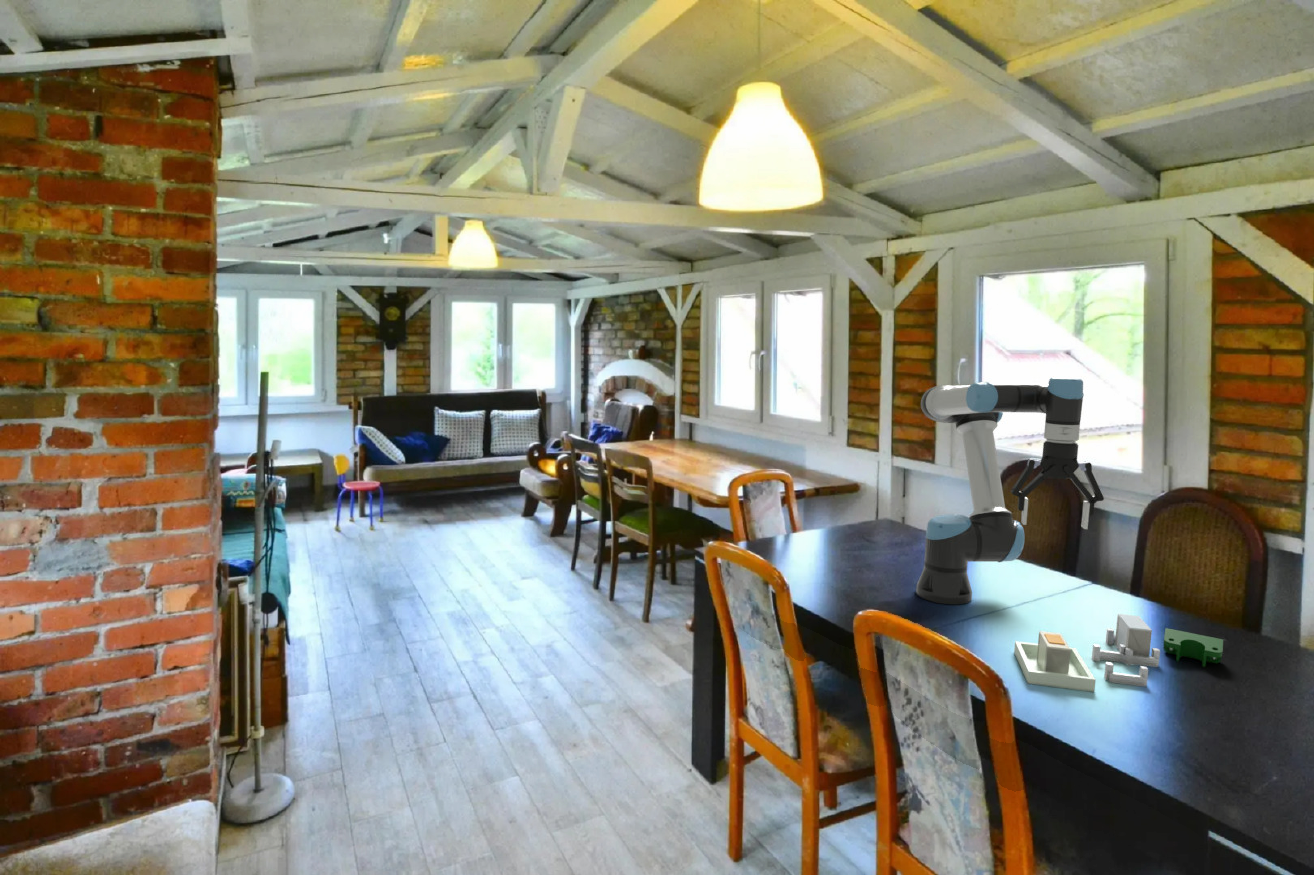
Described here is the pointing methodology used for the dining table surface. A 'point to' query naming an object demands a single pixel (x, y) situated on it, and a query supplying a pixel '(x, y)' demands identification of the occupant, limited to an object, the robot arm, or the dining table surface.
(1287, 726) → the dining table surface
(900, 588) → the dining table surface
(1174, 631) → the clamp
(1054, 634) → the block
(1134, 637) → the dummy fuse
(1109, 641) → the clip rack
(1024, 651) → the tray
